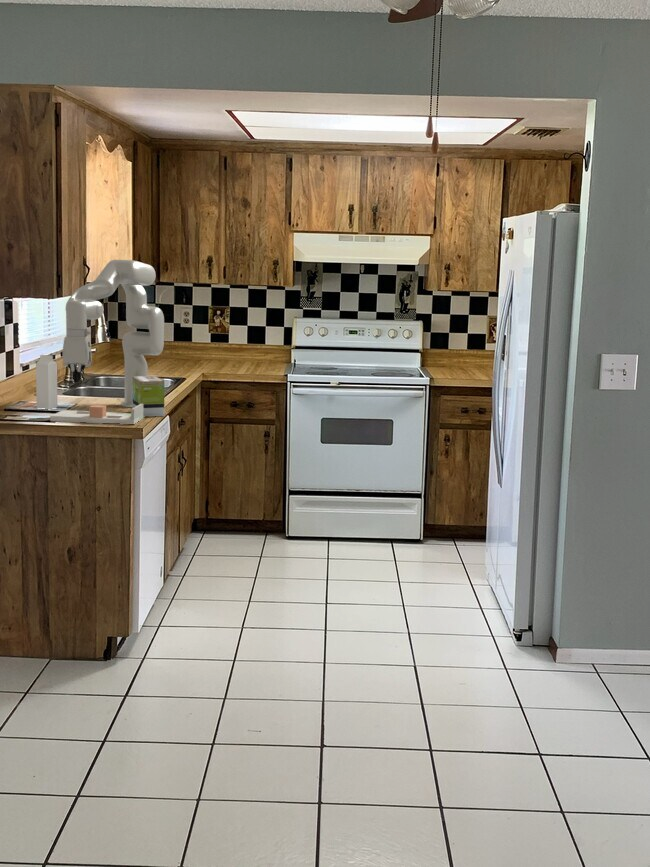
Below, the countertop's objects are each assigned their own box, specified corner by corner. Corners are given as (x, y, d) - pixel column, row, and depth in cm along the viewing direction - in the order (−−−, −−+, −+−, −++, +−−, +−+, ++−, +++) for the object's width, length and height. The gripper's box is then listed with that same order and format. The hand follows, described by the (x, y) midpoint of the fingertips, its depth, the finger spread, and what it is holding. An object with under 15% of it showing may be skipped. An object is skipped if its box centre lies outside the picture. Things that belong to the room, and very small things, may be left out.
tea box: (131, 411, 391) (131, 375, 388) (155, 411, 395) (156, 375, 392) (140, 417, 377) (140, 380, 374) (165, 416, 381) (165, 380, 379)
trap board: (63, 415, 375) (62, 400, 374) (143, 418, 373) (143, 403, 372) (50, 421, 360) (50, 405, 359) (133, 424, 359) (133, 409, 358)
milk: (45, 407, 392) (44, 354, 389) (57, 408, 390) (57, 355, 387) (36, 409, 387) (35, 355, 383) (48, 410, 385) (48, 356, 381)
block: (93, 415, 365) (93, 404, 364) (106, 415, 365) (106, 405, 364) (89, 417, 360) (89, 406, 359) (102, 417, 360) (102, 407, 359)
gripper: (99, 333, 361) (99, 381, 364) (60, 332, 362) (61, 379, 365) (92, 335, 354) (93, 384, 357) (53, 333, 355) (54, 382, 358)
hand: (77, 381), depth 361 cm, fingers closed
